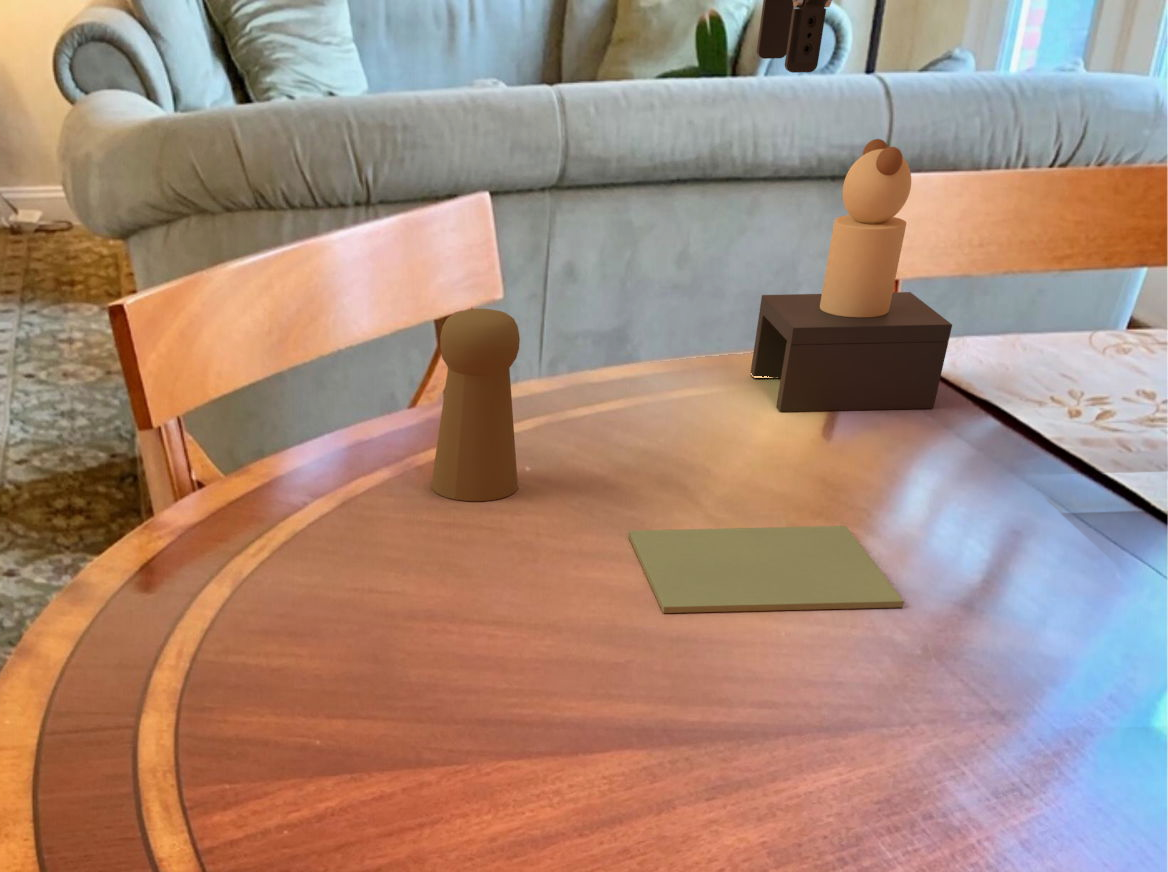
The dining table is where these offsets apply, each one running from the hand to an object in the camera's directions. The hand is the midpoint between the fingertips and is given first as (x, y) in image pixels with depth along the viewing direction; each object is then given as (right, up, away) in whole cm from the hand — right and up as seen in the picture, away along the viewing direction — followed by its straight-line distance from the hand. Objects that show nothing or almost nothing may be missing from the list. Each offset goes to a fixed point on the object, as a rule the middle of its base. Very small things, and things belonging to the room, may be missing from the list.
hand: (785, 64), depth 109 cm
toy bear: (+7, -16, +5) cm, 18 cm away
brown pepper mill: (-24, -34, -7) cm, 42 cm away
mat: (-7, -44, -19) cm, 49 cm away
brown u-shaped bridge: (+7, -20, +9) cm, 23 cm away
